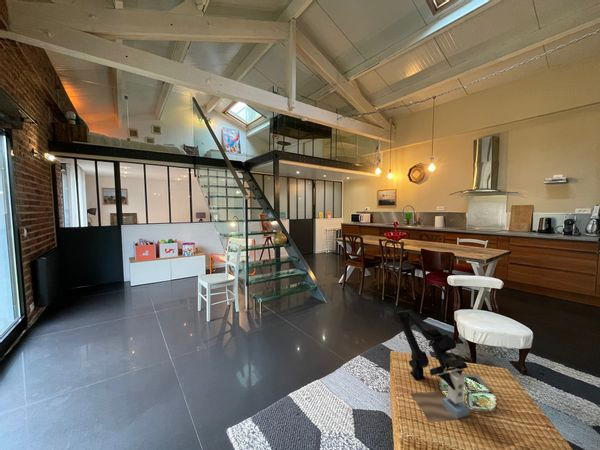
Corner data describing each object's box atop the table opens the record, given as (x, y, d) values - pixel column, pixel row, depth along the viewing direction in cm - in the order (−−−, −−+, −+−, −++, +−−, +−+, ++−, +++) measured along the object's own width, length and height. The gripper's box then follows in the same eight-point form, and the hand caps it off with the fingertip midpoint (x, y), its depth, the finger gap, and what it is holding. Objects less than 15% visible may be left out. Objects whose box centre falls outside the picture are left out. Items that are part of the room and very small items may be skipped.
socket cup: (442, 405, 120) (442, 398, 120) (454, 401, 122) (455, 395, 122) (456, 418, 113) (457, 411, 112) (469, 414, 115) (470, 407, 114)
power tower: (447, 396, 118) (449, 373, 117) (454, 394, 119) (456, 371, 118) (455, 404, 114) (457, 380, 113) (463, 402, 115) (464, 378, 114)
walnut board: (409, 394, 128) (409, 393, 128) (447, 391, 130) (447, 390, 130) (430, 423, 111) (430, 422, 111) (473, 419, 113) (473, 418, 113)
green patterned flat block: (491, 396, 127) (491, 392, 127) (469, 393, 129) (469, 389, 129) (478, 378, 140) (478, 374, 140) (458, 376, 142) (458, 372, 142)
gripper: (435, 352, 116) (453, 390, 106) (465, 347, 120) (486, 383, 111) (422, 357, 124) (438, 393, 115) (451, 352, 129) (469, 386, 119)
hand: (458, 388), depth 115 cm, fingers closed on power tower, 4 cm apart
